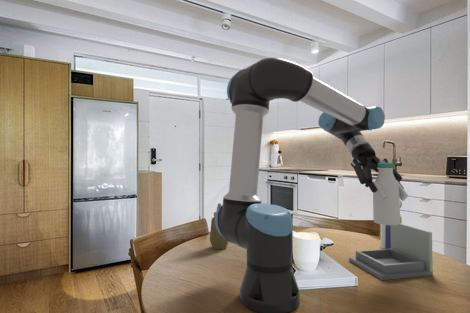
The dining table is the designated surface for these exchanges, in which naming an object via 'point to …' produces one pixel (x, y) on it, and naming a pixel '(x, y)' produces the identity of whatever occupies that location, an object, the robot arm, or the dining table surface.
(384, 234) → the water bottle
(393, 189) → the milk bottle
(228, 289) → the dining table surface
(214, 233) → the squeeze bottle
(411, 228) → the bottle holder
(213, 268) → the dining table surface
